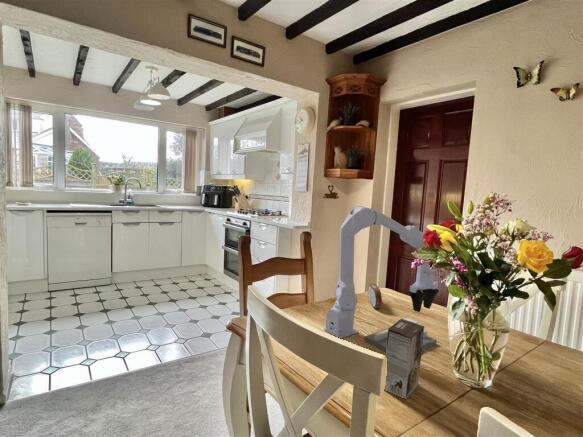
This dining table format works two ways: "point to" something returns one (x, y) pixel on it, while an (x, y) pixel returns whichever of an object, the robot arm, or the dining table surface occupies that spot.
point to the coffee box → (403, 357)
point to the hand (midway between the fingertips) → (421, 309)
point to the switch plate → (381, 337)
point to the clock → (375, 296)
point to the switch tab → (411, 320)
